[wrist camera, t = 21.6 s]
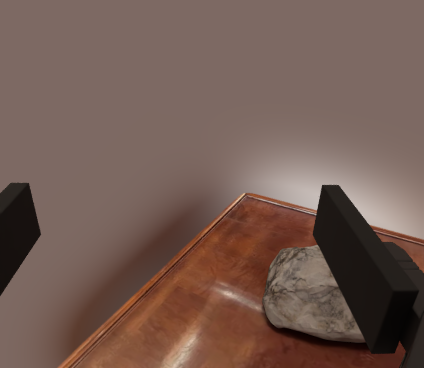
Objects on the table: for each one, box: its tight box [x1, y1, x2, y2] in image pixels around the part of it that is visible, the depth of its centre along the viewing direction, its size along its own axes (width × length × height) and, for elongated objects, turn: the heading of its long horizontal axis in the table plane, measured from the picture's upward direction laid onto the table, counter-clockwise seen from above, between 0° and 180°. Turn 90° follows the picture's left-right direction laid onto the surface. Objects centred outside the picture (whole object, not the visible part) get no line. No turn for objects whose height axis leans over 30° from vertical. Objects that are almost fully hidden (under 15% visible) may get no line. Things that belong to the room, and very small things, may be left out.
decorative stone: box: [262, 245, 366, 343], centre depth 50 cm, size 20×13×10 cm
